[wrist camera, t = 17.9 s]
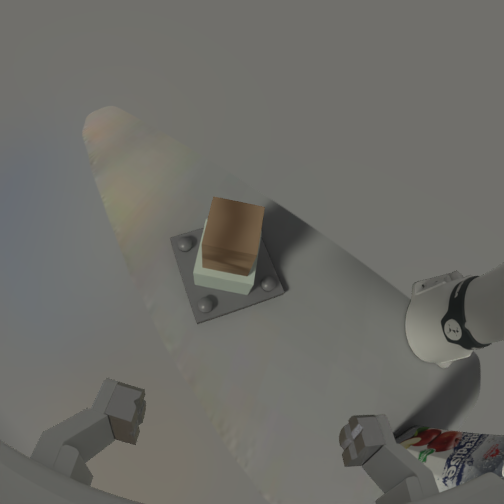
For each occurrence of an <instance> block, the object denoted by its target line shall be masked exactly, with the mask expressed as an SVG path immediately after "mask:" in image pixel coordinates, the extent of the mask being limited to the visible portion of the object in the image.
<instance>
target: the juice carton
mask: <svg viewBox="0 0 504 504" xmlns="http://www.w3.org/2000/svg"><path fill="white" fill-rule="evenodd" d="M395 441H396V444H398V443H399V444H400V445H402V446H403V447H404V448H405V449H406V450H407V451H409V452H410V453H411V454H412V455H413V456H415V457H416V458H417V459H418V460H419V461H421V462H422V463H423V464H424V465H425V466H427V467H428V468H429V469H430V470H431V471H432V473H433V475H434V478H435V481H436V484H437V487H438V490H439V493H440V492H443V491H445V490H448V489H451V488H453V487H456V486H458V485H461V484H463V483H465V482H468V481H470V480H472V479H475V478H477V477H479V476H481V475H483V474H485V473H488V472H493V473H494V474H496V475H498V476H499V477H501V478H502V479H503V480H504V435H489V434H477V433H467V432H458V431H450V430H443V429H436V428H429V427H423V426H413V427H412V428H410V429H409V430H407V431H406V432H404V433H403V434H402V435H400V436H399V437H397V438H395Z"/></svg>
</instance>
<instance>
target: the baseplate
mask: <svg viewBox="0 0 504 504" xmlns="http://www.w3.org/2000/svg"><path fill="white" fill-rule="evenodd" d="M207 220H208V219H206V221H205V225H204V228H202V229H198V230H195V231H191V232H188V233H185V234H181V235H178V236H175V237H171V238H170V240H171V244H172V247H173V251H174V254H175V257H176V261H177V264H178V267H179V270H180V273H181V277H182V280H183V283H184V286H185V289H186V292H187V295H188V298H189V301H190V304H191V307H192V310H193V313H194V316H195V319H196V322H197V324H199V323H202V322H205V321H208V320H211V319H214V318H217V317H220V316H223V315H226V314H229V313H232V312H235V311H238V310H241V309H244V308H247V307H249V306H252V305H255V304H258V303H261V302H263V301H266V300H269V299H272V298H275V297H277V296H280V295H282V294H283V293H284V290H283V288H282V285H281V283H280V280H279V278H278V276H277V273H276V271H275V268H274V266H273V263H272V261H271V259H270V256H269V254H268V251H267V249H266V247H265V244H264V242H263V239H262V237H261V234H262V230H261V234H260V241H259V247H258V253H257V257H256V259H255V261H254V263H253V265H252V268H251V270H250V272H249V274H248V276H242V275H237V274H232V273H227V272H222V271H217V270H212V269H207V268H202V240H203V236H204V232H205V228H206V224H207Z"/></svg>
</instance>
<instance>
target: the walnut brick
mask: <svg viewBox="0 0 504 504" xmlns="http://www.w3.org/2000/svg"><path fill="white" fill-rule="evenodd" d="M264 209H265V207H262V206H257V205H252V204H247V203H243V202H238V201H233V200H228V199H223V198H218V197H213V200H212V204H211V208H210V212H209V216H208V220H207V224H206V228H205V232H204V236H203V240H202V268H207V269H212V270H217V271H222V272H227V273H232V274H237V275H242V276H248V274H249V272H250V270H251V268H252V265H253V263H254V261H255V259H256V257H257V253H258V247H259V241H260V234H261V228H262V222H263V216H264Z"/></svg>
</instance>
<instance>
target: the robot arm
mask: <svg viewBox="0 0 504 504" xmlns="http://www.w3.org/2000/svg"><path fill="white" fill-rule="evenodd" d="M422 287H423V288H422ZM405 328H406V335H407V339H408V342H409V345H410V347H411V349H412V350H413V352H414V353H415V355H416V356H417V357H419V358H420V359H421V360H423V361H426V362H432V363H436V364H437V365H439V366H440V367H441V368H447V367H449V366H450V364H451V363H452V362H453V361H454V360H458V359H462V358H466V357H469V356H470V355H471V353H472V352H473V351H474V349H481V348H484V347H486V346H488V345H490V344H491V343H493V342H498V341H502V340H504V262H503V263H502V264H500V265H499V266H498V267H496V268H494V269H493V270H491V271H489V272H487V273H485V274H483V275H481V276H471V275H469V276H466V277H463V276H462V275H461V274H460V273H459V272H458V271H454V272H452V273H449V274H446V275H442V276H438V277H434V278H430V279H426V280H422V281H418V282H415V283H414V284H413V286H412V299H411V302H410V304H409V307H408V310H407V314H406V321H405ZM144 397H145V390H144V389H141V388H138V387H134V386H131V385H128V384H125V383H122V382H118V381H115V380H112V379H109V378H106V380H105V381H104V382H103V384H102V386H101V388H100V391H99V393H98V395H97V397H96V399H95V401H94V403H93V405H92V407H91V409H88V408H86V409H85V410H83V411H81V412H79V413H77V414H76V415H74V416H72V417H70V418H68V419H66V420H65V421H63V422H61V423H59V424H57V425H55V426H53V427H52V428H50V429H48V430H46V431H44V432H43V433H42V435H41V437H40V439H39V441H38V443H37V445H36V447H35V449H34V451H33V453H32V455H31V457H30V458H29V457H28V456H26V455H24V454H22V453H21V452H19V451H17V450H16V449H14V448H12V447H11V446H9V445H8V444H6V443H4V442H3V441H1V440H0V504H143V503H139V502H136V501H132V500H129V499H126V498H122V497H119V496H116V495H113V494H110V493H107V492H104V491H102V490H99V489H96V488H93V487H91V486H90V485H91V482H92V479H93V475H92V473H91V472H90V470H89V469H88V467H87V466H86V464H85V463H86V462H87V461H88V460H90V459H91V458H93V457H94V456H95V455H96V454H98V453H99V452H100V451H102V450H103V449H104V448H105V447H107V446H108V445H110V444H111V443H112V442H113V441H115V439H116V440H119V441H122V442H126V443H130V444H133V445H136V442H137V438H138V436H139V432H140V430H139V425H140V424H141V423H142V422H143V419H144V415H145V410H146V401H145V400H144ZM348 421H349V424H347V425H345V426H344V427H343V428H342V429H341V431H340V435H339V443H340V446H341V447H342V448H343V449H344V451H343V453H342V457H343V462H344V466H345V467H351V466H362V468H363V469H364V470H365V471H366V472H367V474H368V475H369V476H370V477H371V478H372V479H373V481H374V482H375V483H376V484H377V485H378V486H379V488H380V489H381V490H382V491H383V492H384V493H385V494H384V495H382V496H381V497H379V498H378V499H377V500H376V501H375V502H376V504H504V480H503V479H502V478H501V477H499V476H498V475H496V474H494V473H493V472H488V473H485V474H483V475H481V476H479V477H477V478H475V479H472V480H470V481H468V482H465V483H463V484H461V485H458V486H456V487H453V488H451V489H448V490H445V491H443V492H440V493H439V490H438V487H437V484H436V481H435V478H434V475H433V473H432V471H431V470H430V469H429V468H428V467H427V466H425V465H424V464H423V463H422V462H421V461H419V460H418V459H417V458H416V457H415V456H413V455H412V454H411V453H410V452H409V451H407V450H406V449H405V448H404V447H403V446H402V445H400V444H399V443H398V444H396V441H395V438H394V435H393V432H392V430H391V427H390V424H389V422H388V419H387V417H386V416H385V415H356V416H352V417H351V418H350V419H349V420H348Z"/></svg>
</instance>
